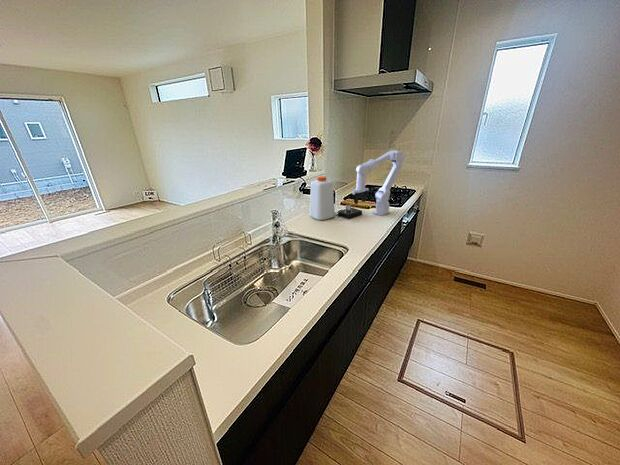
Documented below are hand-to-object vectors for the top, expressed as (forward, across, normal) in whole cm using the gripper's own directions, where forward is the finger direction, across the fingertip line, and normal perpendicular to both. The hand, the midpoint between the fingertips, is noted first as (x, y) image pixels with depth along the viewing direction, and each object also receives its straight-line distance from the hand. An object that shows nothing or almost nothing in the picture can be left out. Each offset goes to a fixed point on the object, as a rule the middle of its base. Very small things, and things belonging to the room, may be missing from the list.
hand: (359, 202), depth 175 cm
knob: (+6, +5, -6) cm, 10 cm away
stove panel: (+9, +4, -5) cm, 11 cm away
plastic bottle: (+10, +21, -16) cm, 28 cm away
